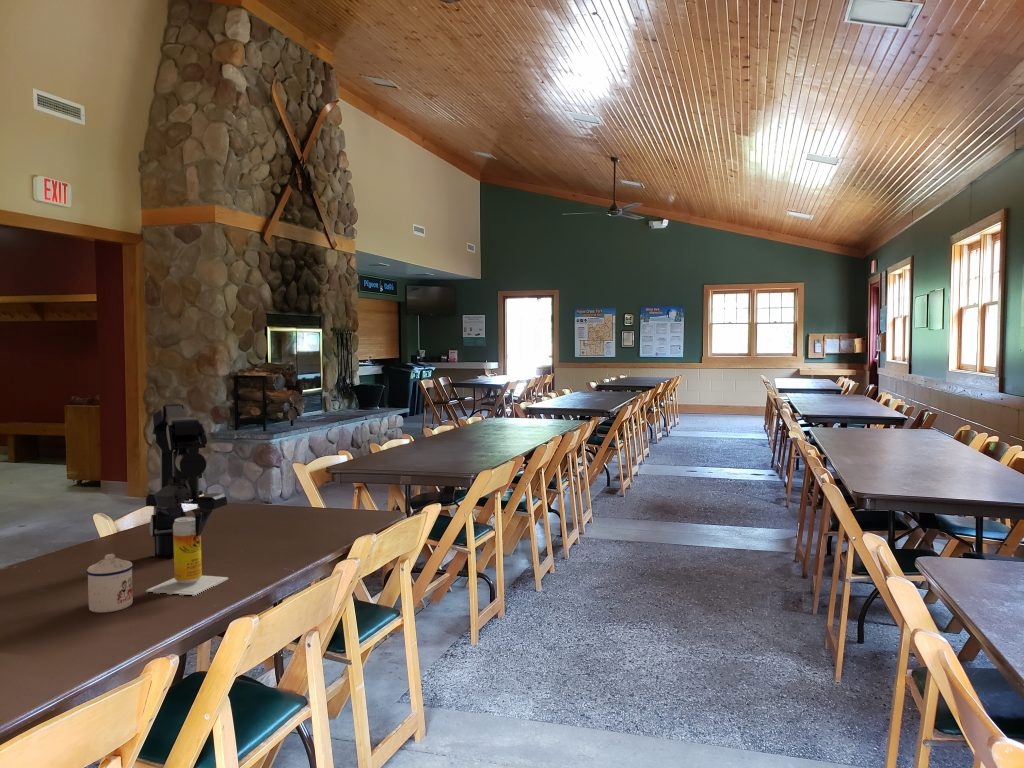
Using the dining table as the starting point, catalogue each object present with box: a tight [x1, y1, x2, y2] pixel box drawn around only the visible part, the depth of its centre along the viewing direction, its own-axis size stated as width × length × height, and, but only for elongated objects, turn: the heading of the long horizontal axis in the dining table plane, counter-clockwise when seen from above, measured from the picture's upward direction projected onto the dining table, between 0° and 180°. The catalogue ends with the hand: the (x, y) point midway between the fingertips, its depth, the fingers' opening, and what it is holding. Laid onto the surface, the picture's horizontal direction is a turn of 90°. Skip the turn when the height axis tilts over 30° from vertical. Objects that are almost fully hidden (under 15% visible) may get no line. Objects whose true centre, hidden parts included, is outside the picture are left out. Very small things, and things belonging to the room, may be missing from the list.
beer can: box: [173, 515, 203, 583], centre depth 177 cm, size 6×6×15 cm
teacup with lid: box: [86, 553, 134, 614], centre depth 164 cm, size 12×9×12 cm
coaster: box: [145, 574, 229, 597], centre depth 177 cm, size 13×13×1 cm
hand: (187, 535), depth 177 cm, fingers closed on beer can, 6 cm apart
